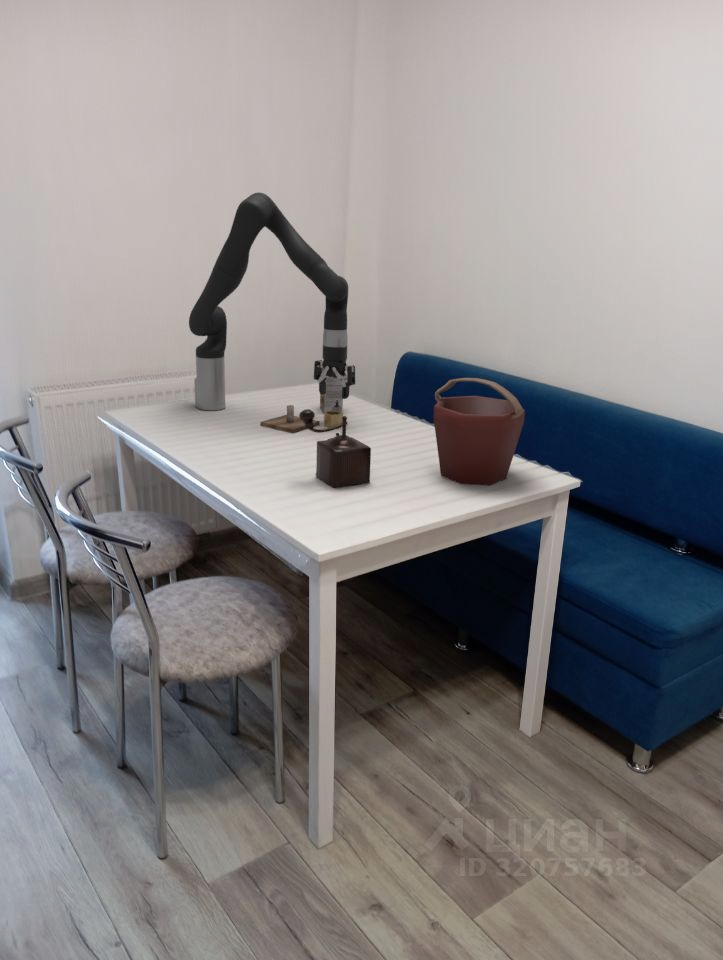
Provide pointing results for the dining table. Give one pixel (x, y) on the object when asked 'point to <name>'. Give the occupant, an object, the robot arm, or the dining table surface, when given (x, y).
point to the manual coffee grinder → (339, 456)
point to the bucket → (477, 434)
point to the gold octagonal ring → (332, 418)
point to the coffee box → (332, 395)
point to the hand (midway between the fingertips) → (333, 396)
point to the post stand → (287, 422)
